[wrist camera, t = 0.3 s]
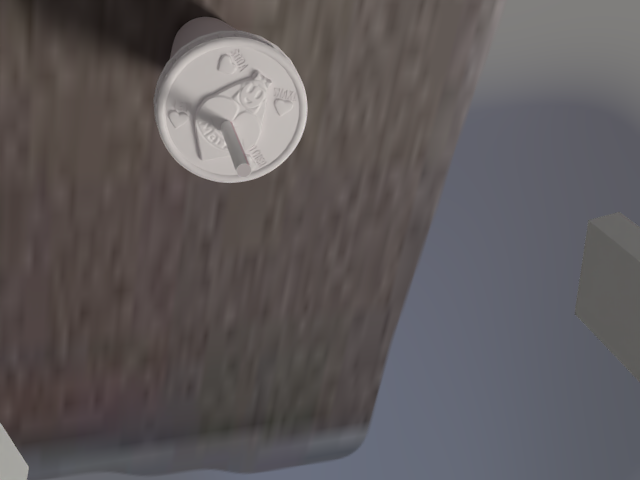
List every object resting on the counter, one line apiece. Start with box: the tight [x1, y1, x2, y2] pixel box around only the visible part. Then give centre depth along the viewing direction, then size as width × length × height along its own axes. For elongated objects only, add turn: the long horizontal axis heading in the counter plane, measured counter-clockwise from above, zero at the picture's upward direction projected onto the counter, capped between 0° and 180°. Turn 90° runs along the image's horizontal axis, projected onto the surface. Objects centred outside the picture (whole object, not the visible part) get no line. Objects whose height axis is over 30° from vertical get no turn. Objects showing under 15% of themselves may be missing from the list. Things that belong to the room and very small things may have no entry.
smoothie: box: [154, 17, 307, 183], centre depth 27 cm, size 6×6×14 cm
